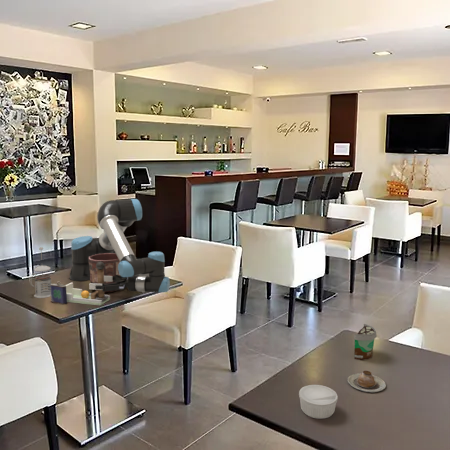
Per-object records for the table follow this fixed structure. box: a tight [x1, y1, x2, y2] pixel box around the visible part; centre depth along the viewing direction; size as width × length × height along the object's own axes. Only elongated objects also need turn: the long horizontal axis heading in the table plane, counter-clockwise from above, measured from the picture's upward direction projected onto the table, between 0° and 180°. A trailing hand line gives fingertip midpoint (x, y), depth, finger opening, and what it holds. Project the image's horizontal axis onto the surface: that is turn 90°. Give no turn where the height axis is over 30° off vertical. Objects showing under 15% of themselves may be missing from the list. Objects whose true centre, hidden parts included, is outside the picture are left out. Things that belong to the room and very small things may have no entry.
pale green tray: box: [65, 281, 111, 306], centre depth 238 cm, size 9×22×7 cm, turn 74°
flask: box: [50, 280, 68, 305], centre depth 235 cm, size 9×3×11 cm, turn 65°
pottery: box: [88, 253, 120, 294], centre depth 255 cm, size 18×18×18 cm
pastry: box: [347, 370, 387, 393], centre depth 157 cm, size 12×12×5 cm
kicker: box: [91, 262, 108, 301], centre depth 235 cm, size 6×6×19 cm
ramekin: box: [298, 384, 338, 420], centre depth 141 cm, size 11×11×5 cm
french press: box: [28, 246, 52, 299], centre depth 245 cm, size 10×12×25 cm
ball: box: [81, 290, 90, 299], centre depth 239 cm, size 4×4×4 cm
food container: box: [353, 323, 378, 361], centre depth 177 cm, size 12×6×10 cm, turn 148°
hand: (94, 282), depth 235 cm, fingers open, 13 cm apart
